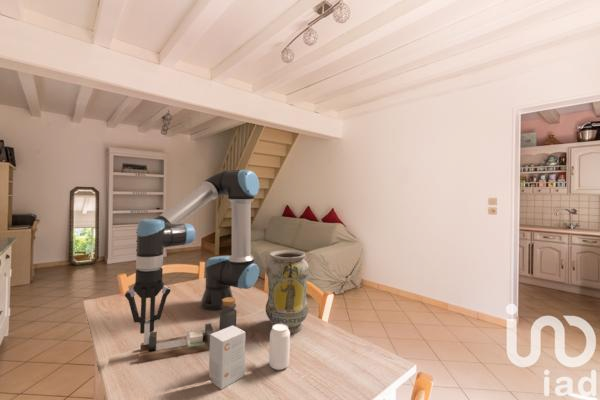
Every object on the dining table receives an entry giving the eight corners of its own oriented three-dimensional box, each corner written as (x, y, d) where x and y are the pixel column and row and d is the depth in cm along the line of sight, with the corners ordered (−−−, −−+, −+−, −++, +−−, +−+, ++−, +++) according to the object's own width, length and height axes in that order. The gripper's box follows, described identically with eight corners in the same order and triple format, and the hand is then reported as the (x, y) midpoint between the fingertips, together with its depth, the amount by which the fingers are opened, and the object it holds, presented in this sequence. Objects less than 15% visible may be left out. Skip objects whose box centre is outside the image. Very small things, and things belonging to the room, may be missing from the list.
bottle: (238, 338, 102) (240, 298, 102) (229, 346, 96) (231, 303, 97) (225, 335, 104) (226, 295, 104) (215, 343, 98) (217, 300, 98)
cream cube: (201, 342, 97) (201, 330, 97) (202, 347, 93) (202, 335, 93) (189, 344, 95) (189, 332, 95) (189, 350, 92) (190, 337, 92)
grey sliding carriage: (188, 342, 96) (189, 325, 96) (190, 353, 89) (190, 335, 89) (149, 349, 90) (150, 331, 90) (147, 361, 84) (148, 342, 84)
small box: (231, 367, 85) (233, 324, 85) (244, 376, 80) (246, 331, 81) (207, 379, 78) (209, 333, 78) (220, 390, 74) (222, 341, 74)
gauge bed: (210, 339, 101) (210, 323, 101) (213, 352, 92) (214, 334, 92) (140, 351, 91) (141, 333, 91) (137, 367, 83) (138, 347, 83)
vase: (264, 338, 103) (266, 257, 103) (263, 318, 120) (265, 249, 121) (311, 336, 106) (314, 257, 106) (303, 316, 123) (306, 249, 123)
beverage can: (271, 359, 90) (272, 321, 90) (290, 360, 89) (291, 323, 89) (267, 370, 83) (268, 330, 83) (287, 372, 83) (288, 332, 83)
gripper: (172, 264, 94) (169, 333, 94) (127, 266, 89) (124, 340, 89) (172, 269, 88) (169, 344, 87) (123, 272, 82) (120, 352, 82)
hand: (146, 342), depth 88 cm, fingers closed
